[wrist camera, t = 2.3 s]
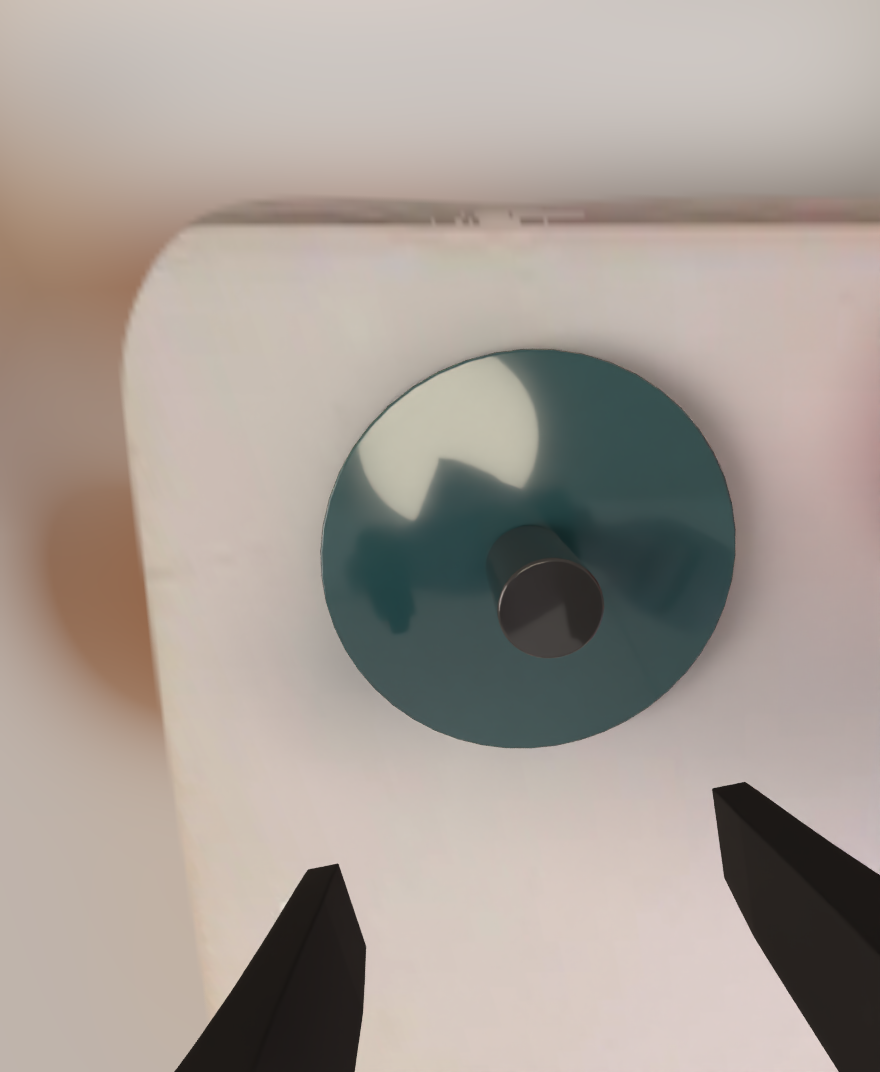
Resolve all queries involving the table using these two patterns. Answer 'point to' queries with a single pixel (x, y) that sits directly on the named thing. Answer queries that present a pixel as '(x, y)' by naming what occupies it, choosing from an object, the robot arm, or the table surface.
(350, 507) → the lid
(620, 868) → the table surface
